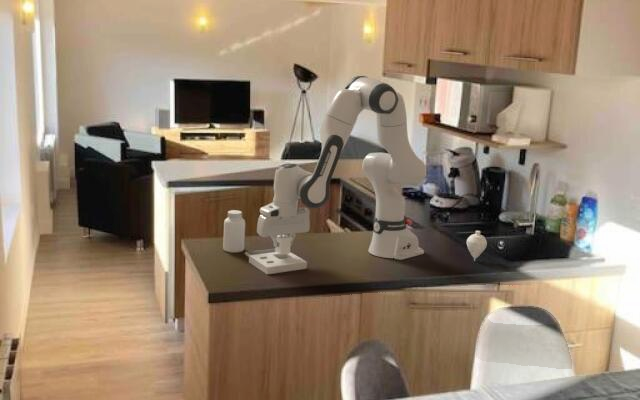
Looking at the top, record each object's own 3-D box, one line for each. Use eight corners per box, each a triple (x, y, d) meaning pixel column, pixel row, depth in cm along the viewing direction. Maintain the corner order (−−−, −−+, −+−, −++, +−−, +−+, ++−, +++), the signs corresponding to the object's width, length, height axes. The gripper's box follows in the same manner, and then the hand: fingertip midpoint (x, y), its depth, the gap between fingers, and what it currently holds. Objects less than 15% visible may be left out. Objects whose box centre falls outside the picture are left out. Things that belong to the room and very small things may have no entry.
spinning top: (474, 265, 257) (478, 234, 255) (460, 259, 263) (463, 229, 261) (488, 262, 261) (492, 232, 259) (474, 256, 268) (477, 227, 265)
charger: (284, 250, 248) (285, 231, 246) (290, 253, 244) (291, 234, 243) (275, 251, 245) (275, 232, 244) (280, 254, 242) (281, 235, 241)
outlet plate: (287, 256, 253) (287, 249, 252) (306, 268, 241) (307, 261, 241) (248, 262, 244) (249, 254, 244) (266, 274, 233) (267, 266, 232)
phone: (275, 251, 260) (275, 248, 259) (284, 257, 254) (284, 253, 254) (244, 255, 253) (244, 252, 252) (253, 261, 247) (253, 257, 247)
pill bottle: (229, 254, 252) (230, 215, 248) (219, 248, 258) (220, 210, 255) (248, 251, 256) (249, 213, 253) (237, 245, 263) (238, 208, 259)
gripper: (305, 204, 249) (303, 240, 252) (255, 208, 238) (254, 246, 242) (314, 208, 244) (311, 245, 247) (264, 213, 233) (262, 251, 236)
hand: (282, 245), depth 244 cm, fingers closed on charger, 4 cm apart
